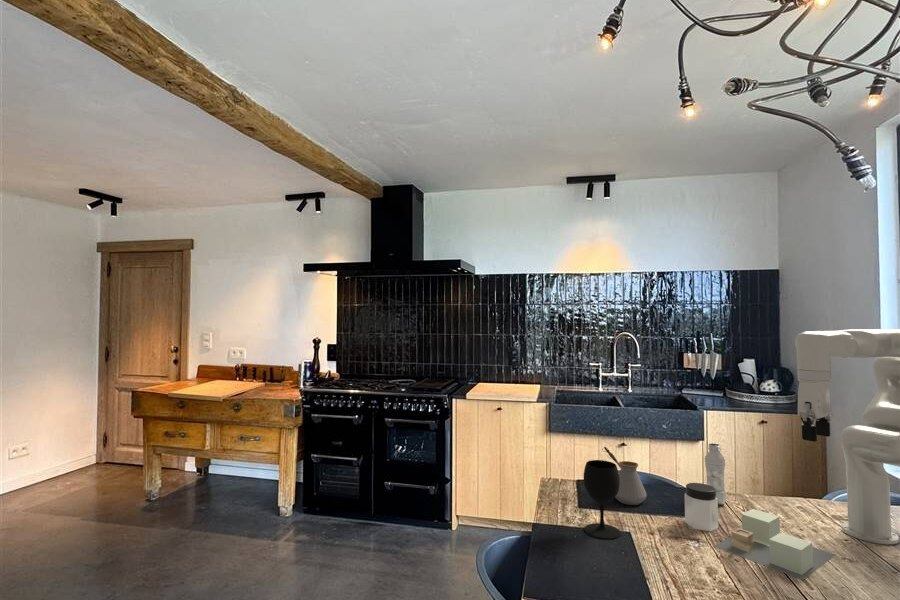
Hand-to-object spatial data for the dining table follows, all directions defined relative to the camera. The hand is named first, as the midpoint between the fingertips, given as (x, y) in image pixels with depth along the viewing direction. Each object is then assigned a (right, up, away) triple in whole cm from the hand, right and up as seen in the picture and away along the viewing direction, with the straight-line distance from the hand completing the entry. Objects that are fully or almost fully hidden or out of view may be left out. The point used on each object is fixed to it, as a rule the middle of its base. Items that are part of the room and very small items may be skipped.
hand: (816, 438), depth 131 cm
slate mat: (-14, -30, -3) cm, 34 cm away
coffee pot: (-41, -33, +38) cm, 65 cm away
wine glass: (-57, -31, +9) cm, 66 cm away
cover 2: (-15, -29, -11) cm, 35 cm away
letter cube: (-22, -30, -2) cm, 37 cm away
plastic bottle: (-10, -32, +31) cm, 46 cm away
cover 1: (-12, -30, +5) cm, 33 cm away
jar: (-25, -31, +13) cm, 42 cm away
